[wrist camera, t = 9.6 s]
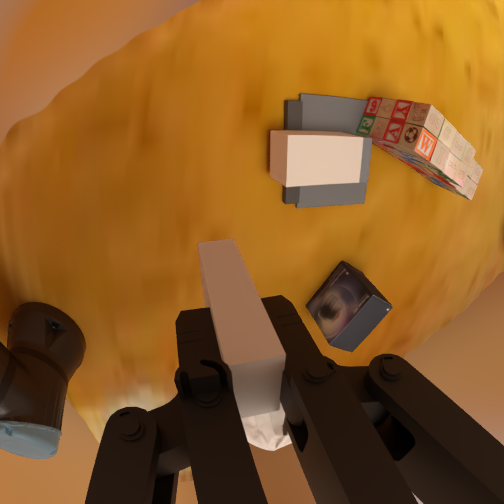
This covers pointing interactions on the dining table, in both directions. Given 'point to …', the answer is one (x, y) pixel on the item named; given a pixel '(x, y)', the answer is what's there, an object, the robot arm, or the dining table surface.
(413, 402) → the robot arm
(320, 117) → the pad
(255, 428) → the storage basket
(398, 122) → the stack of blocks
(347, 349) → the small box
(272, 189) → the dining table surface
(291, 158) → the tall block
